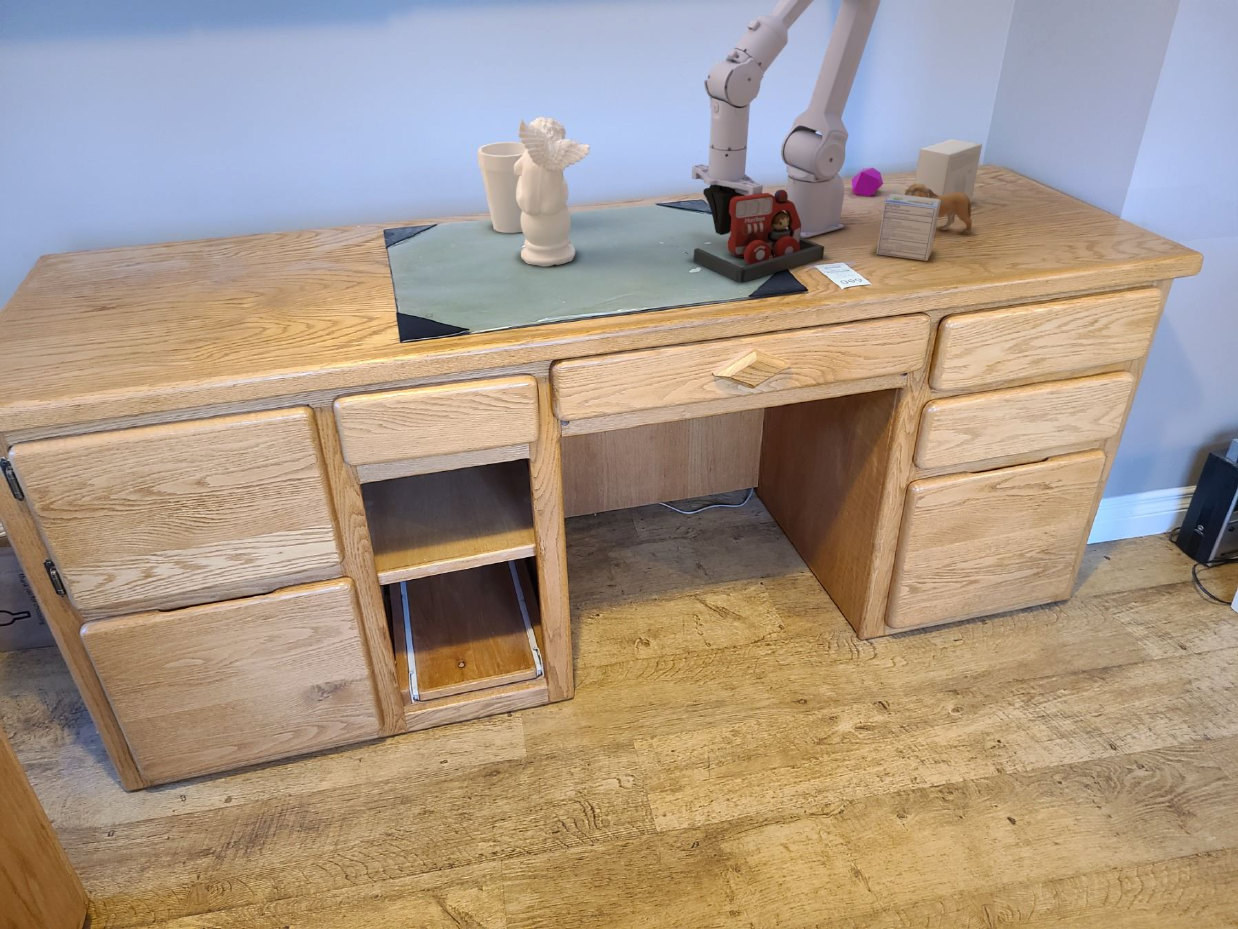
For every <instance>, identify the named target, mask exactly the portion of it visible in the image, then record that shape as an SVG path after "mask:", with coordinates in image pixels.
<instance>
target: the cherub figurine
mask: <svg viewBox="0 0 1238 929" xmlns="http://www.w3.org/2000/svg"><path fill="white" fill-rule="evenodd" d="M566 134H567V132H566V128H565V126H564V124H563V125H562V123H560V122H559V121H558V120H557V119H554V118H553V117H550V116H549V117H544V116H539V117H536V118H535V119H534V120H532V121H530V123H529V124H527V123H525V122H524V120H523V118H521V119H520V121H519V124H518V133H517V136H518V138H519V139H520V143H523V144H524V147H525V148H527V150H526V151H525V152H524V154H523V155H522V157H521V158H520V159H519V160H518V161H517V162H516V163H515V165H514V174H515V175H519V179H518V183H517V188H516V200H517V203H518V205H519V207H520V209H521V210H522V213H521V219H520V220H521V228H522V234H523V235H524V237H525V239H524V246H525V247H523V248H522V249H521V252H520V257H521V259H522V260H523V261H524V262H525V263H526V264H528V265H533V266H539V267H552V266H554V265H555V266H559V265H562V264H563V265H564V264H566V263H568V262H572V261H573V260H574V258H575V255H576V249H575V247H574V246H573V245H572V244H570V243H571V238H570V237H569V234H570V231H571V226H572V217H571V213H570V211H569V208H568V206H567V201H568V200H569V186H568V183H567V181H566V178H565V176H564V171H565V170H566V168H569V167H570V165H571V166H574V165H575V164H576V163H580V161H581V160H583V159H585V158H586V156H587V155H589V154H590V148H591V145H589V144H583V143H582V142H577V141H576V140H573V139H570V138H566Z"/></svg>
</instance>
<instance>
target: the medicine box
mask: <svg viewBox="0 0 1238 929" xmlns="http://www.w3.org/2000/svg"><path fill="white" fill-rule="evenodd" d="M940 203H941V200H940V199H934V198H926V197H918V196H909V195H905V194H899V193H890V194H889V195H888V197H887V198H886V199H885V200H884V203H883V209H882V215H881V216H882V217H881V222H880V228H879V236H878V242H877V248H876V255H879V256H880V255H881V256H887V257H896V258H901V259H902V258H903V259H910V260H917V261H925V262H928V260H929V258H930V256H931V254H932V251H933V246H934V240H935V234H936V231H937V230H936V229H937V223H938V219H939V218H938V214H939V208H940Z"/></svg>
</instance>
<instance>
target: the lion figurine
mask: <svg viewBox="0 0 1238 929" xmlns="http://www.w3.org/2000/svg"><path fill="white" fill-rule="evenodd" d="M904 195H909V196H918V197H926V198H934V199H940V200H941V203H940V208H939V214H938V219H939V218H942V217H945V216H947V222H946V223H945V224H944V225H940V226H939V227H938V229H939V230H940V231H947V230H948V229H949V228H950V227H951V226H952V225H953V224H954V223H955V217H956V216H957V217H958V218H959V220H960V221H962V222H963V223H964V224H965V225H966V228H965V229H963V230H962V234H963V235H970V234H971V232H972V226H973V220H972V218H971V217H972V202H970V199H969V197H968V196H967V195H965V194H964V193H960V192H953V193H950V194H946V195H941V196H937V195H936V194H934V193H933V192H932V191H931V190H930V189H928V188H926V186H925V185H923V184H915V183H914V184H913V183H912V184H911V185H910V186H909V187H908V188H907V189H906V190H905V191H904Z"/></svg>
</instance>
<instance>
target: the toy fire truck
mask: <svg viewBox="0 0 1238 929" xmlns="http://www.w3.org/2000/svg"><path fill="white" fill-rule="evenodd" d="M786 191H787V190H785V189H778V190H776V192H775V193H774V195H773V194H771V193H769V192H762V194H754V195H746V196H738V197H733V198H732V199H731V201H730V207H729V213H730V215H731V218H732V219H731V231H730V233H729V234H730V236H729V237H728V240H727V244H726V245H727V249H728V252H729V253H730V254H732V255H733V256H735V257H736V258H737V257H738V258H742V257H743V259H744V262H745V263H746V265H751V264H754V263H758V262H761V261H765V260H768V259H771V253H773V258H775V257H779V256H782V255H786V254H789V253H793V252H796V251H799V250H800V246H799V242H800V233H801V222H800V219H799V216H798V213H797V210H796V208H795V205H794V203H793V202H791V201H790V200H787V199H788V194H787V192H786ZM784 211H786V213H785V212H784ZM786 227H788V229H787V228H786Z"/></svg>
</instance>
